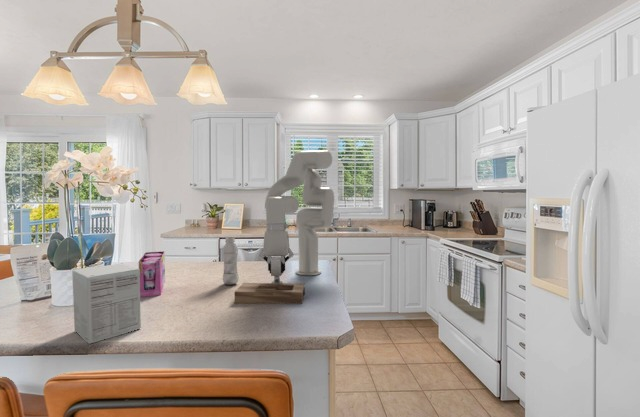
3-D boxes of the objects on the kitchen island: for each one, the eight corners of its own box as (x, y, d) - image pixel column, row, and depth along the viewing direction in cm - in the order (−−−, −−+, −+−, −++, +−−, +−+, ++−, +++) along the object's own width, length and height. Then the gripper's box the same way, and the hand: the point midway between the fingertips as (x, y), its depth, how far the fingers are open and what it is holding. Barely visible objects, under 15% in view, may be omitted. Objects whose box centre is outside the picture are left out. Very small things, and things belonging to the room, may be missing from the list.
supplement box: (142, 329, 96) (141, 268, 96) (88, 345, 86) (86, 277, 86) (124, 318, 105) (122, 262, 104) (73, 331, 95) (71, 270, 94)
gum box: (161, 296, 128) (160, 260, 127) (137, 298, 125) (136, 262, 125) (165, 281, 150) (164, 251, 150) (145, 283, 147) (144, 252, 147)
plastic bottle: (236, 286, 142) (235, 238, 141) (220, 286, 142) (219, 238, 141) (240, 282, 148) (239, 236, 147) (225, 282, 148) (224, 236, 147)
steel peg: (272, 284, 139) (272, 256, 138) (283, 284, 139) (282, 256, 138) (270, 287, 135) (270, 258, 134) (281, 287, 134) (281, 258, 134)
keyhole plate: (243, 293, 131) (243, 283, 131) (304, 293, 131) (304, 283, 130) (234, 303, 120) (234, 291, 119) (302, 303, 119) (302, 292, 119)
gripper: (297, 226, 139) (298, 270, 140) (257, 226, 139) (258, 270, 140) (295, 228, 131) (296, 275, 132) (253, 228, 132) (254, 275, 133)
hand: (276, 272), depth 136 cm, fingers closed on steel peg, 4 cm apart
